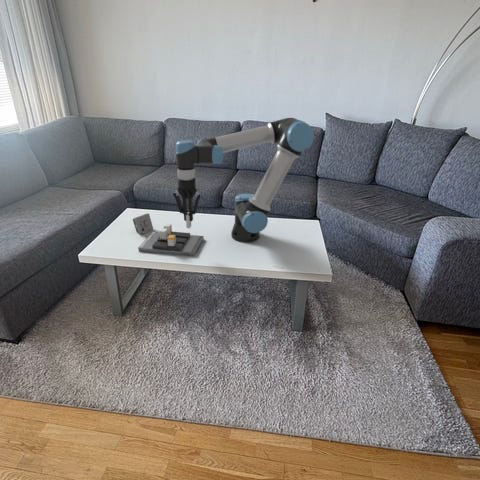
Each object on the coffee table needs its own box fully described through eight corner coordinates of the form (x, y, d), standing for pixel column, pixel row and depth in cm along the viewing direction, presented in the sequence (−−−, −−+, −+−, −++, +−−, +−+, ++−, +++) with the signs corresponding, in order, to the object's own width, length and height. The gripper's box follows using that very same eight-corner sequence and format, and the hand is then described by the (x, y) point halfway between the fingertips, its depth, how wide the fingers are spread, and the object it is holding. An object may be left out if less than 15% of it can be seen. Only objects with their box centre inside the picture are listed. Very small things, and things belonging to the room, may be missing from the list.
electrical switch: (139, 235, 176) (136, 218, 173) (133, 233, 180) (130, 217, 176) (153, 229, 183) (151, 213, 179) (148, 227, 186) (145, 212, 182)
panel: (203, 239, 173) (203, 233, 172) (194, 256, 157) (194, 250, 156) (152, 235, 177) (152, 229, 175) (138, 251, 161) (137, 245, 159)
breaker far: (172, 231, 172) (171, 223, 170) (170, 234, 169) (169, 226, 167) (166, 231, 173) (165, 223, 171) (164, 233, 170) (163, 226, 168)
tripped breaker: (176, 243, 161) (175, 235, 159) (174, 246, 158) (173, 238, 156) (170, 242, 161) (169, 234, 159) (168, 245, 158) (167, 237, 156)
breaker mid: (168, 236, 167) (167, 228, 165) (165, 239, 164) (165, 231, 162) (162, 236, 167) (161, 228, 165) (160, 239, 165) (159, 231, 162)
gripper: (203, 176, 145) (204, 225, 156) (174, 174, 147) (178, 222, 158) (198, 181, 139) (200, 231, 150) (169, 179, 140) (172, 229, 151)
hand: (188, 227), depth 154 cm, fingers closed
